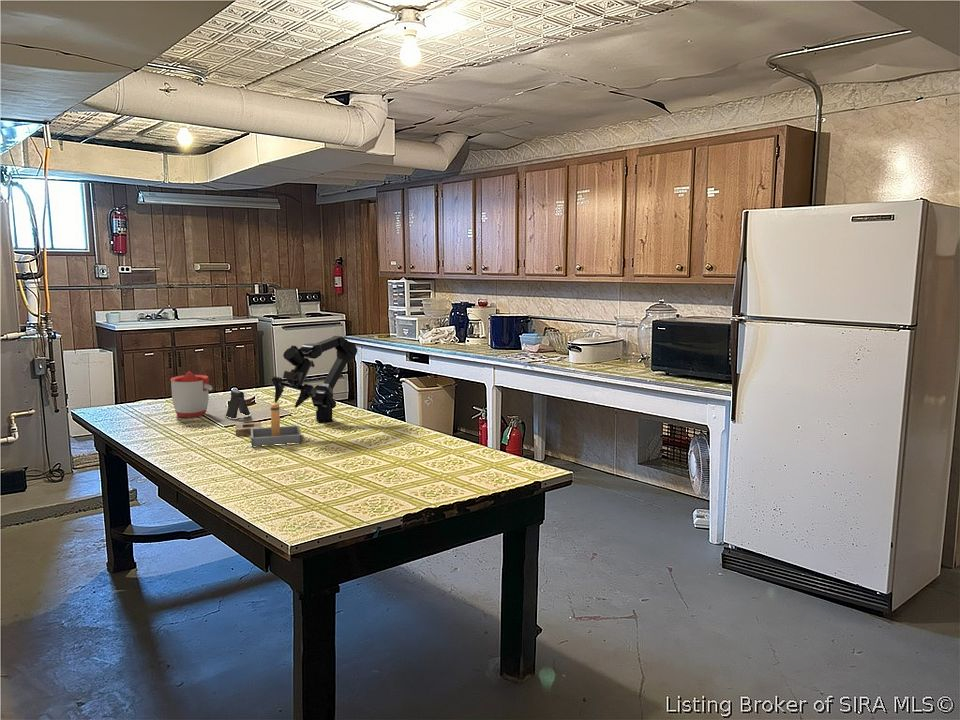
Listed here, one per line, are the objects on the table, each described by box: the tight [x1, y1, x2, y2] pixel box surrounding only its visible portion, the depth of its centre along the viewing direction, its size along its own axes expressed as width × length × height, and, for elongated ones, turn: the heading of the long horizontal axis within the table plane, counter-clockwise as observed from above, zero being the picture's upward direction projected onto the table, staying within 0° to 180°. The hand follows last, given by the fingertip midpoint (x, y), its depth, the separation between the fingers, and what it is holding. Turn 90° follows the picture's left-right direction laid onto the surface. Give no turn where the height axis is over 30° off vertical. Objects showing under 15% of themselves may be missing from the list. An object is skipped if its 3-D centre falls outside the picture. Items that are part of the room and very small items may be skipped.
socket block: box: [235, 421, 263, 437], centre depth 284 cm, size 10×10×2 cm
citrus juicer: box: [170, 371, 213, 418], centre depth 308 cm, size 16×17×20 cm
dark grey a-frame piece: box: [225, 389, 251, 418], centre depth 306 cm, size 9×6×12 cm, turn 138°
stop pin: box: [270, 402, 281, 437], centre depth 271 cm, size 3×3×14 cm
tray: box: [250, 425, 303, 448], centre depth 272 cm, size 19×15×4 cm
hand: (285, 404), depth 281 cm, fingers open, 9 cm apart
